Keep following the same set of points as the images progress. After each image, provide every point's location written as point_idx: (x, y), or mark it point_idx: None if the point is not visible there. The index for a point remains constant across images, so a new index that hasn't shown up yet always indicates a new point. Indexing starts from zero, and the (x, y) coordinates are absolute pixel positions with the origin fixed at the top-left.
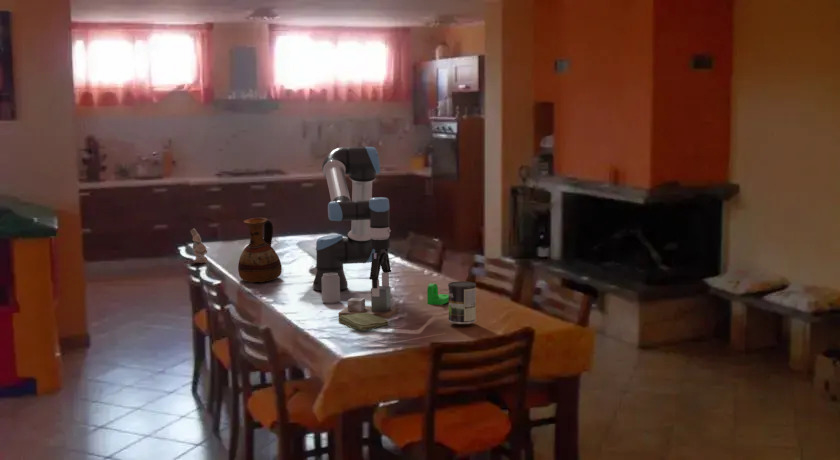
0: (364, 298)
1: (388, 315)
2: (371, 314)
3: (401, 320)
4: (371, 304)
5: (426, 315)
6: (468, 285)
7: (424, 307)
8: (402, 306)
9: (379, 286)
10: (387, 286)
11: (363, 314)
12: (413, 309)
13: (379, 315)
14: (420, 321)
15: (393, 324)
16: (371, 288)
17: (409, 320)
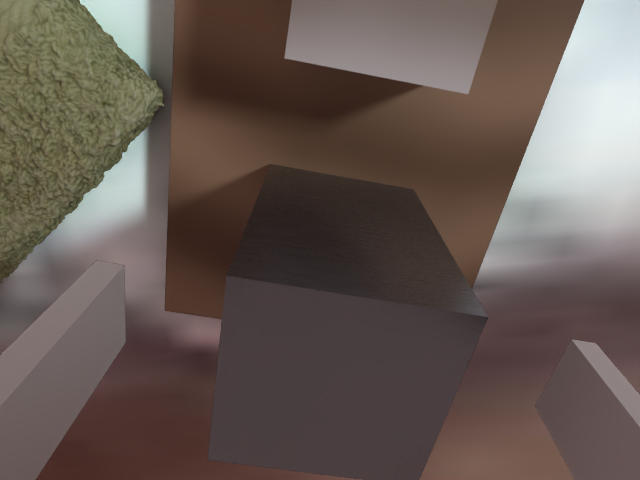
0: (457, 88)
1: (166, 304)
2: (44, 194)
3: (136, 368)
4: (262, 187)
5: (295, 475)
6: None
7: (531, 459)
8: (602, 346)
9: (418, 374)
10: (407, 460)
11: (25, 116)
12: (481, 411)
13: (170, 238)
14: (130, 457)
15: (3, 333)
16: (244, 280)
17: (145, 407)
